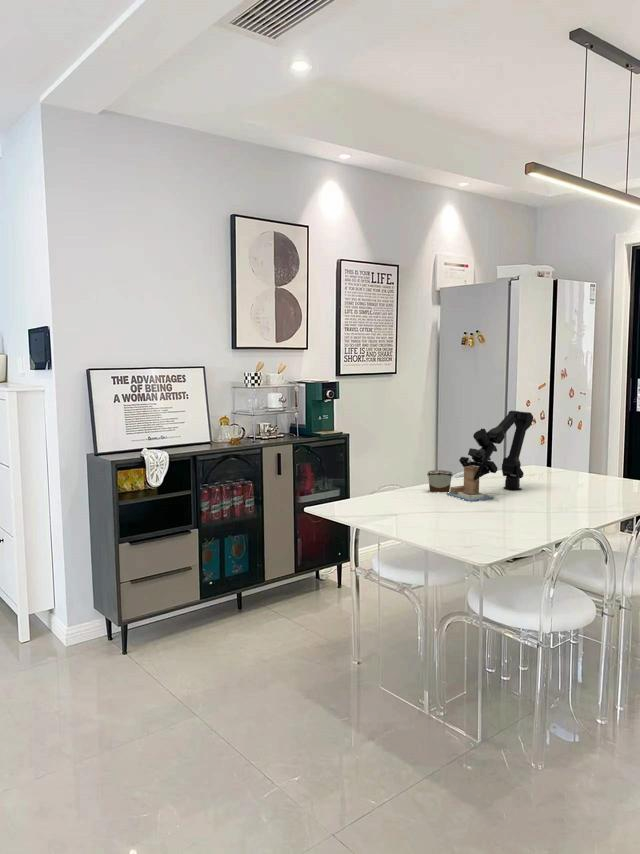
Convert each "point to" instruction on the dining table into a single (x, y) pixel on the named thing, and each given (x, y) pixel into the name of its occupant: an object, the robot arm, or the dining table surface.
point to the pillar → (471, 480)
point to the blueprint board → (467, 494)
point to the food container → (439, 480)
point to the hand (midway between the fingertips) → (469, 478)
